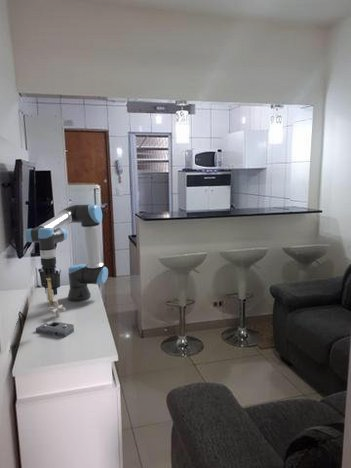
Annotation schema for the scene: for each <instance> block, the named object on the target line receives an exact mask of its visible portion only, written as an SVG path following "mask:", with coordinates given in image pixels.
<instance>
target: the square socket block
mask: <svg viewBox="0 0 351 468" xmlns="http://www.w3.org/2000/svg"><path fill="white" fill-rule="evenodd" d="M74 326H75V325H74V324H71V323H66V322H62V321H61V322H59V321H52V322H50V323H46V322H44V323H43V324H41V325H39V326H37V327H36V328H35V332H37V333H42V334H47V335H52V336H57V337H63V338H67V337H68V336H70V335H71V334H73V333H74V332H75V327H74Z"/></svg>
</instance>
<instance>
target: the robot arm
mask: <svg viewBox="0 0 351 468" xmlns="http://www.w3.org/2000/svg"><path fill="white" fill-rule="evenodd" d="M102 221H103V211H102V209H101V208H100V206H99V205H97V204H73V205H70V206H68V207H66V208H64V209H62V210H60V211H59V212H58V213H57V214H56V215H55V216H54V217H52V218H50V219H48V220H47V221H45V222H44V223H42V224H40V225H38V226H36V227H35V228H27V229H26V230H25V232H26V239H25V240H26V242H28V243H34V244H35V243H38V244H39V254H40V265H41V268H38V269H37V271H38V273H39V279H40V283H41V284H40V285H41V287H42V288H44V289H45V295H46V301H48V302H49V294H48V283H47V280H46V278H48V277H50V278H51V283H52V289H51V291H52V301H56V300H58V296H57V295H58V289H59V288H61V273H62V272H61V269H58V268H57V266H56V265H57V259H56V257H57V256H56V255H57V254H56V246H55V245H56V244H58V243H62V242H63V241H65V240H67V238H68V232H67V230H66V229H65V228H63V227H64V226H65V225H66V226H68V225H70V224H75V223H77V224H80V225H81V228H82V229H83V230H84V238H85V239H84V240H85V247H86V255H87V264H86V263H78V264H73V265H71V266H70V267H68V282H69V290H68V295H67V300H68V301H70V302H81V301H86V300H88V299H90V298H91V292H90V289H89V286H88V285H104V284H105V283H106V281H107V279H108V277H109V269H108V267H106V266H105V263H104V262H103V261H102V256H101V247H100V245H101V244H100V239H99V238H100V237H99V236H100V235H99V229H98V227H100V224H101V222H102Z"/></svg>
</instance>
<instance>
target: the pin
mask: <svg viewBox="0 0 351 468" xmlns="http://www.w3.org/2000/svg"><path fill="white" fill-rule="evenodd" d="M46 280H47V283H48V294H49V300H48V304H49V307H54V306H55V301H56V300H55V301H52V291H51V289H52V283H51V278H50V277H48V278H46Z"/></svg>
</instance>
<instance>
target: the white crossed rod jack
mask: <svg viewBox="0 0 351 468" xmlns="http://www.w3.org/2000/svg"><path fill="white" fill-rule="evenodd" d="M63 306H64V305H63V304H59V300H58V299H57V300H55V305H54V306H49V307H48V310H49V311H51V314H53V315H54V314H55V318H60V311H62V312H64V311H66V307H63Z"/></svg>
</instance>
